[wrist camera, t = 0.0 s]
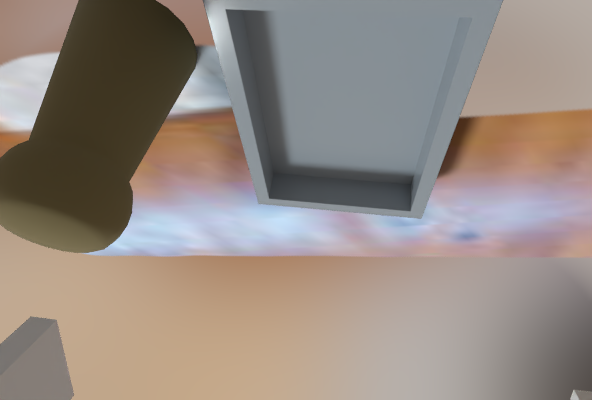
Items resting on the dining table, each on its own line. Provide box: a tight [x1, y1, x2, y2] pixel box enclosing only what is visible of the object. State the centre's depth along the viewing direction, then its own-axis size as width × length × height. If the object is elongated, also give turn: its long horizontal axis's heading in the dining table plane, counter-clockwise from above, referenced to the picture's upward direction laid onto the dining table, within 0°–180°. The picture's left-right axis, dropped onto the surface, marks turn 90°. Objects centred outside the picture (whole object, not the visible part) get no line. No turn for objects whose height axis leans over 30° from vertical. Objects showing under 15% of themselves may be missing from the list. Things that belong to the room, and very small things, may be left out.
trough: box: [203, 0, 503, 219], centre depth 23 cm, size 16×11×3 cm
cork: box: [0, 0, 197, 253], centre depth 20 cm, size 6×6×11 cm
